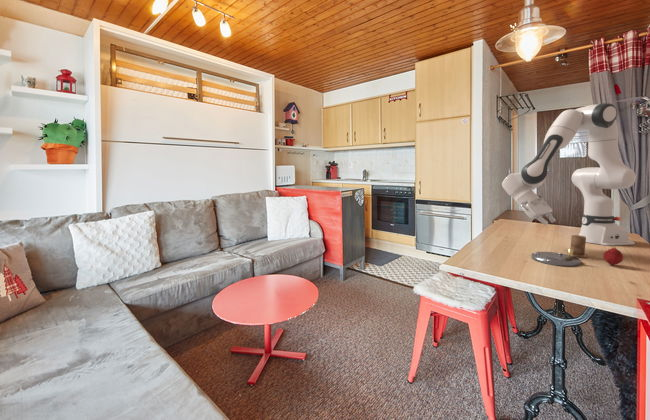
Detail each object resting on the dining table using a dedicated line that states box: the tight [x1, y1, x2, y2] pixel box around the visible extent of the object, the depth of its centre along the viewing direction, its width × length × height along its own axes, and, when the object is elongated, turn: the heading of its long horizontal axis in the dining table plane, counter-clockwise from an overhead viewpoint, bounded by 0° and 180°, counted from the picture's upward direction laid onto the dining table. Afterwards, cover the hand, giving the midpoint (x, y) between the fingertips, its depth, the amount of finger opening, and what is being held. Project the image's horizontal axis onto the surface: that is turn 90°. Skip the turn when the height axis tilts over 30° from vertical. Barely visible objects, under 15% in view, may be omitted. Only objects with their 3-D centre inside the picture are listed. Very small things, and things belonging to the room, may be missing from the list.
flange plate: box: [530, 247, 581, 267], centre depth 130 cm, size 17×17×6 cm
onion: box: [602, 245, 624, 267], centre depth 121 cm, size 6×6×8 cm
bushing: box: [566, 234, 588, 259], centre depth 134 cm, size 7×7×9 cm
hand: (550, 222), depth 142 cm, fingers open, 8 cm apart
